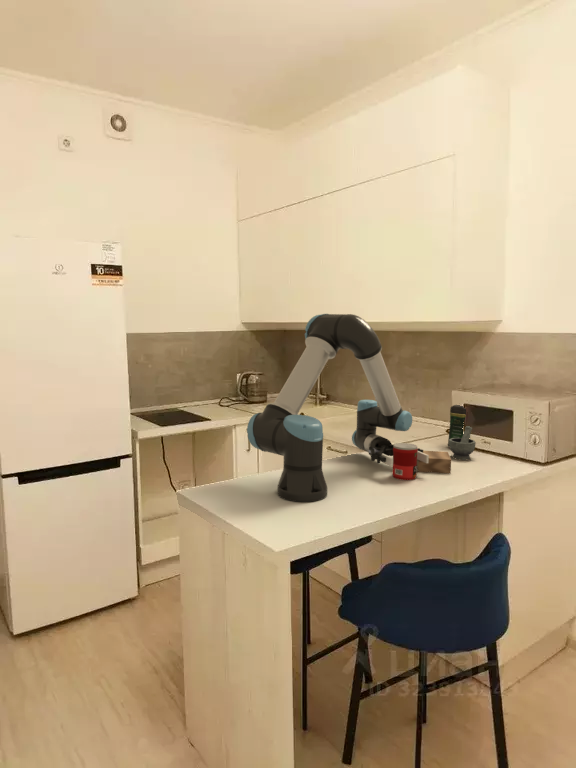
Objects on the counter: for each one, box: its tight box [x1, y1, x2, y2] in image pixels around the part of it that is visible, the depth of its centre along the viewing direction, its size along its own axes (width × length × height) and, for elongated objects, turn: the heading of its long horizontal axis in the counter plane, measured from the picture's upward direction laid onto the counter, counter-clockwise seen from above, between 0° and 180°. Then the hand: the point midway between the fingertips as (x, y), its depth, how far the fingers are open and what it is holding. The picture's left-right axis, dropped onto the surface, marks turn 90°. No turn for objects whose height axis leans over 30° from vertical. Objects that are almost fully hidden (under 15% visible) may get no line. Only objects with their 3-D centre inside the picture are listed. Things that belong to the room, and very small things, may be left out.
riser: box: [417, 450, 452, 474], centre depth 194 cm, size 11×11×5 cm
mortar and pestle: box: [448, 426, 477, 461], centre depth 209 cm, size 11×9×12 cm
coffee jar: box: [447, 404, 466, 448], centre depth 225 cm, size 10×8×19 cm
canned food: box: [391, 442, 419, 481], centre depth 182 cm, size 8×8×11 cm
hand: (410, 460), depth 179 cm, fingers open, 13 cm apart
